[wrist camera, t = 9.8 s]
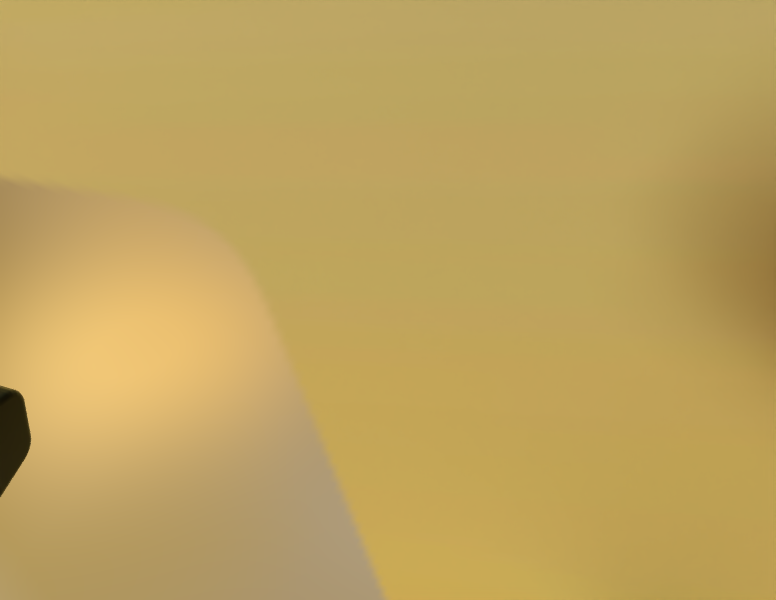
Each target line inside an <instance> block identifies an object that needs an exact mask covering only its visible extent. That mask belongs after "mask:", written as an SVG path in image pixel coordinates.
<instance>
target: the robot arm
mask: <svg viewBox="0 0 776 600" xmlns="http://www.w3.org/2000/svg"><path fill="white" fill-rule="evenodd" d="M30 442H31V434H30V429H29V424H28V418H27V413H26V407H25V402H24V398H23V396H22V395H21V394H20V393H19V392H18V391H16V390H13V389H10V388H7V387H3V386H0V497H1V495H2V494H3V492H4V491H5V489H6V487H7V486H8V484H9V483H10V481H11V479H12V478H13V477H14V475H15V473H16V472H17V470H18V469H19V467H20V466H21V464H22V462H23V461H24V459H25V457H26V456H27V453H28V451H29V448H30V444H31V443H30Z"/></svg>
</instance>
